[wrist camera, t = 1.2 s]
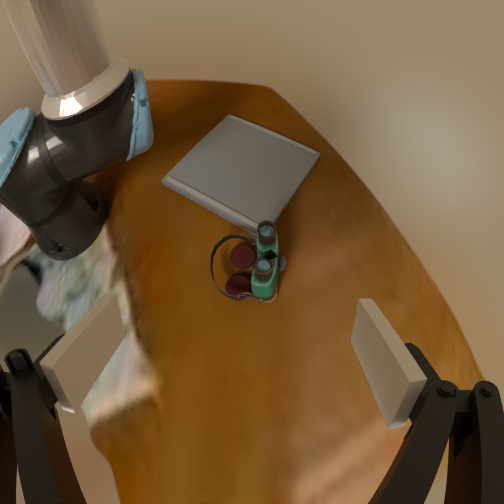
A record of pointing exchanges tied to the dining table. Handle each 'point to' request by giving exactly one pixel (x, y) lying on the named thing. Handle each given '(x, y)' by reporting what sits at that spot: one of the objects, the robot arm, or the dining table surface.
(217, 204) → the slate board
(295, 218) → the dining table surface
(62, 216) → the robot arm
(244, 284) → the binoculars
